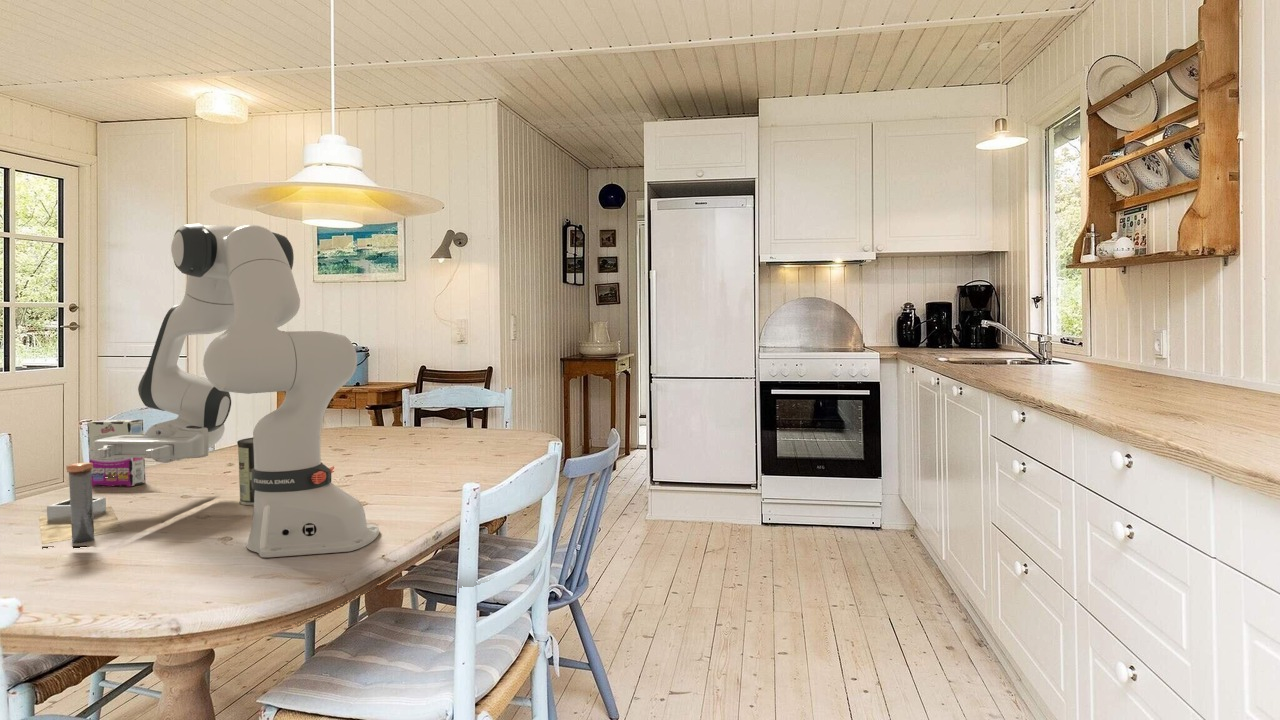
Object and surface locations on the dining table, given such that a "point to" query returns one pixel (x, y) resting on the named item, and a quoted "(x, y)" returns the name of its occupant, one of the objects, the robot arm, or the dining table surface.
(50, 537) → the tan wooden board
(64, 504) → the shallow grey tray
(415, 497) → the dining table surface
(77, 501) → the pin
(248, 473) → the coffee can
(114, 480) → the candy bar box
